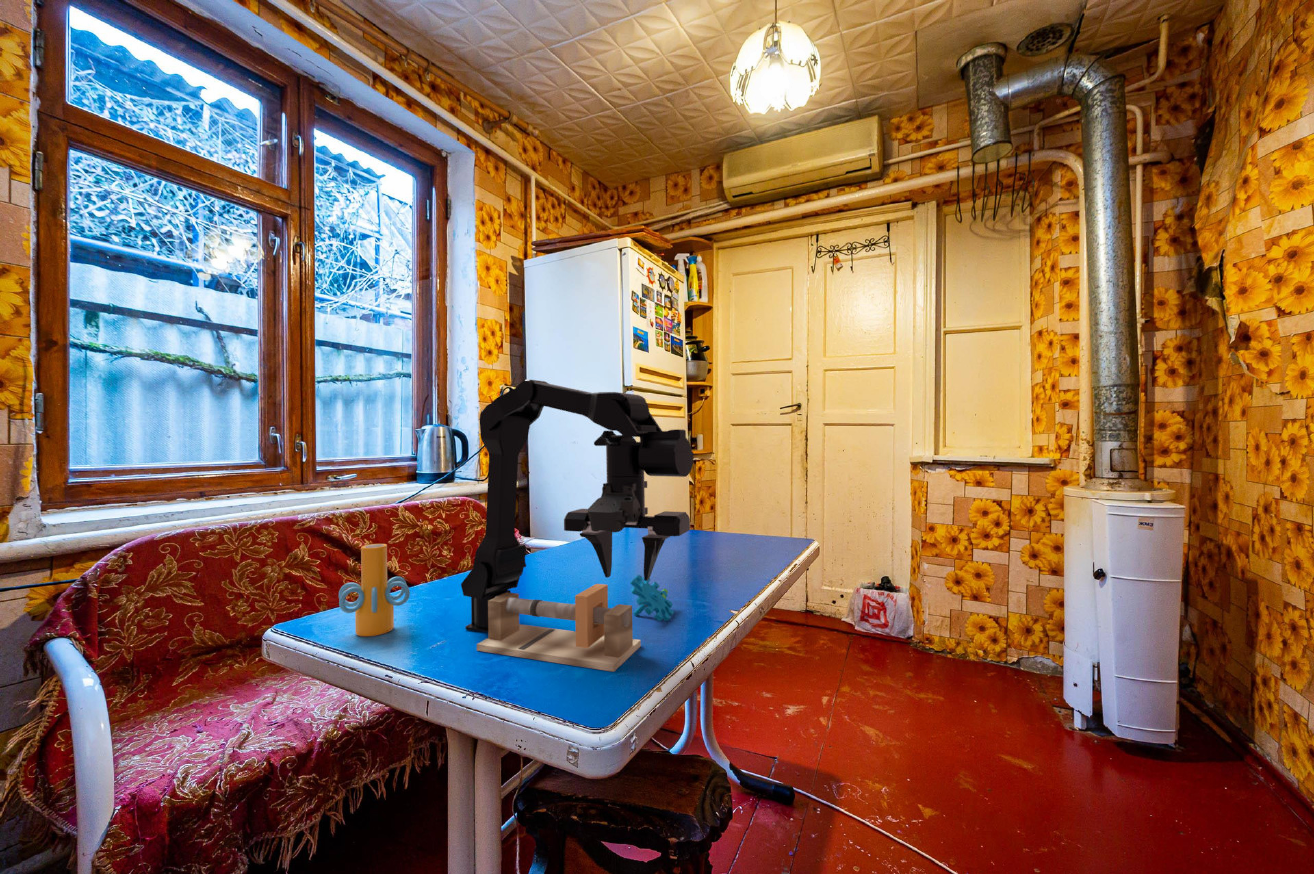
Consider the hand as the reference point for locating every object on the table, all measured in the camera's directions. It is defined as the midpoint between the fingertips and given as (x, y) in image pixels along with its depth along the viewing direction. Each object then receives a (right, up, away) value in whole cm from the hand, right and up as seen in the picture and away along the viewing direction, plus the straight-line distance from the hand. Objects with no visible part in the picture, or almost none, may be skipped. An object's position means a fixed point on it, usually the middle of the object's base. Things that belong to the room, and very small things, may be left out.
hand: (627, 578), depth 81 cm
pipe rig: (-11, -12, +4) cm, 17 cm away
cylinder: (-45, -13, +13) cm, 49 cm away
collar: (-5, -10, +2) cm, 12 cm away
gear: (+4, -12, +19) cm, 23 cm away
